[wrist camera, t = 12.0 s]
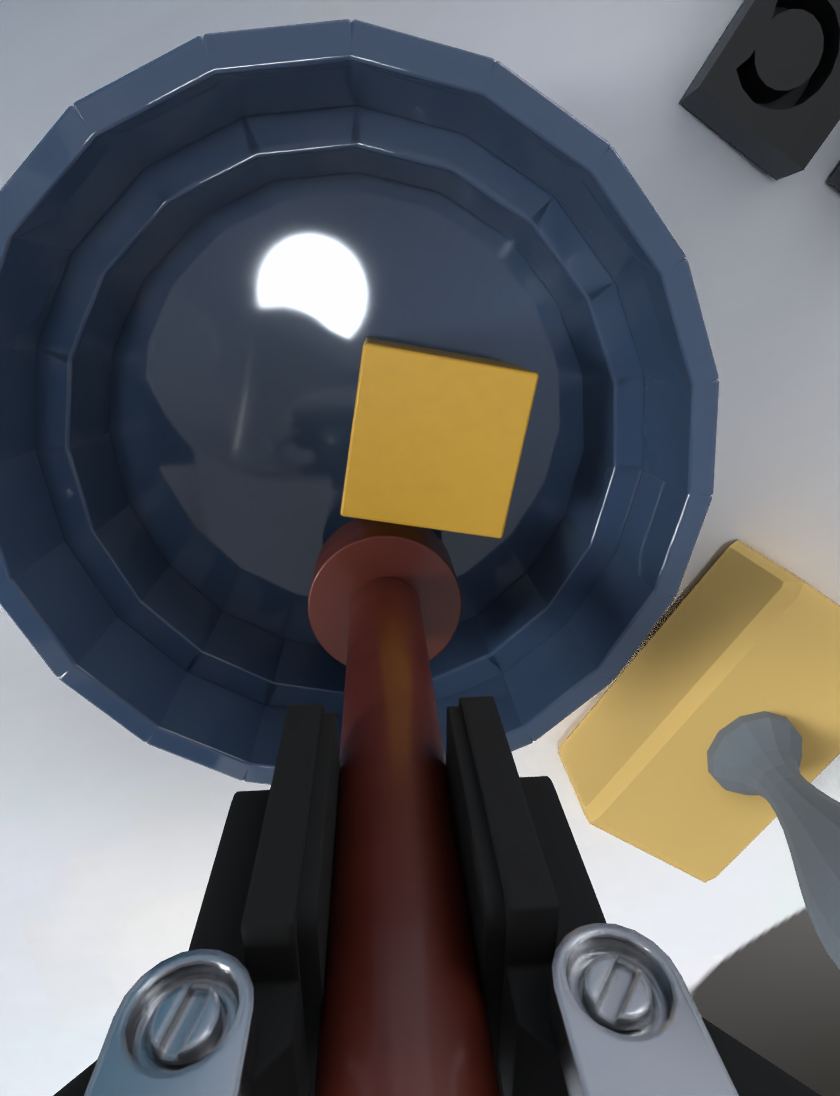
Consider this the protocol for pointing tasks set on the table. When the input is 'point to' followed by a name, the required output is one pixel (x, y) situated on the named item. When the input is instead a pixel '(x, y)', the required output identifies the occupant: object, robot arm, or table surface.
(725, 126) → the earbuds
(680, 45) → the table surface
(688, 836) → the rubber stamp
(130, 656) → the bowl
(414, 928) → the red capped peg
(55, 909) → the table surface
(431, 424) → the block
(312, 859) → the robot arm
